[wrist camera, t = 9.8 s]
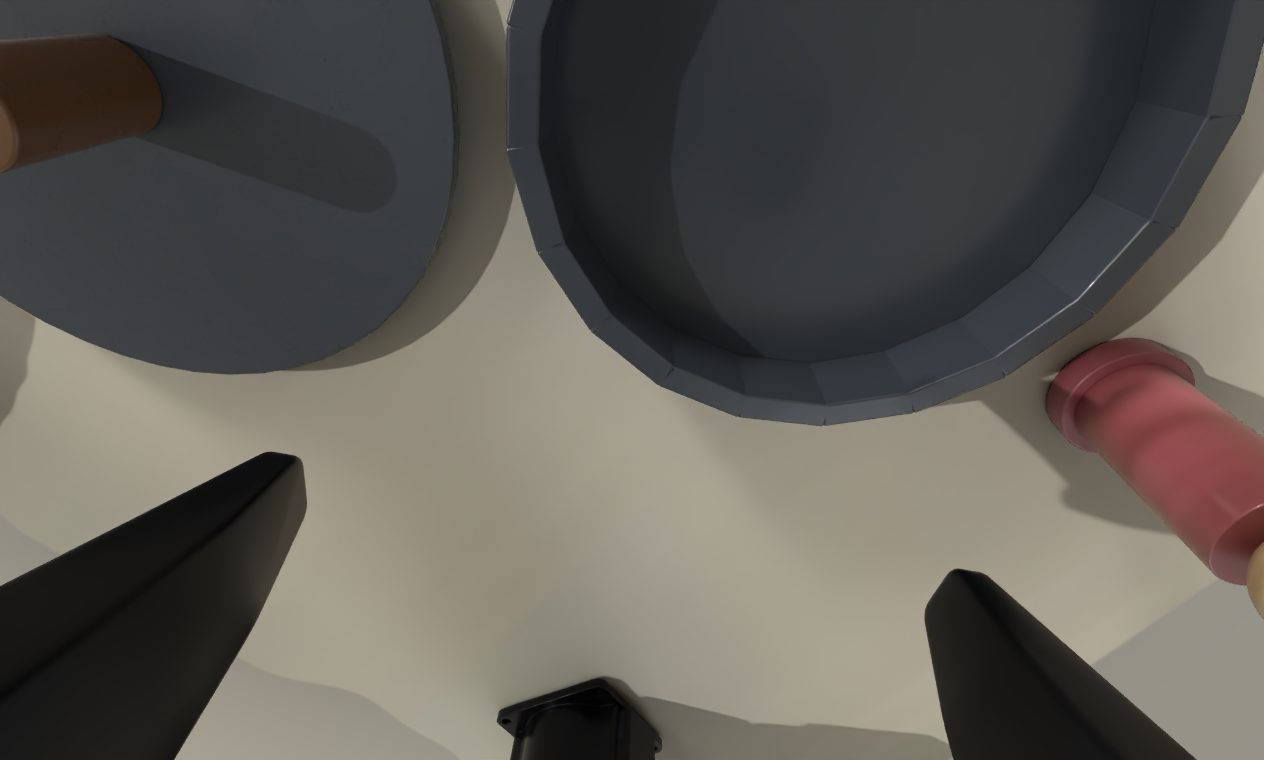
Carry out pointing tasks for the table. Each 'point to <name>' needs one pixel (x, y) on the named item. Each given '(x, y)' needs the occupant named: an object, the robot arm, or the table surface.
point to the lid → (222, 172)
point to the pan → (860, 180)
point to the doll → (1171, 451)
